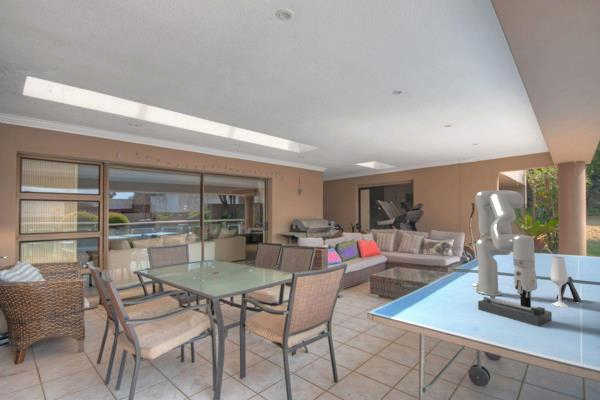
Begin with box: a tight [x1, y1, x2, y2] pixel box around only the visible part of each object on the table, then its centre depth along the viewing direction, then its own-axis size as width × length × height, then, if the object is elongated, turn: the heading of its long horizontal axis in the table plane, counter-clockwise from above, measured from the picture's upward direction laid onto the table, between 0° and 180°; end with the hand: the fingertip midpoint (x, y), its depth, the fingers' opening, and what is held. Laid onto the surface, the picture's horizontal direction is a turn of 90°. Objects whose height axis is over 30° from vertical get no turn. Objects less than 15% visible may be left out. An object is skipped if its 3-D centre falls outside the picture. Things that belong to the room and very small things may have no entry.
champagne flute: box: [549, 255, 569, 308], centre depth 147 cm, size 7×7×24 cm
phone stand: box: [555, 275, 582, 303], centre depth 156 cm, size 9×6×12 cm, turn 39°
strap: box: [487, 297, 537, 311], centre depth 133 cm, size 18×4×1 cm, turn 29°
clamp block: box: [477, 295, 553, 328], centre depth 132 cm, size 24×12×6 cm, turn 29°
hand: (525, 306), depth 127 cm, fingers closed
